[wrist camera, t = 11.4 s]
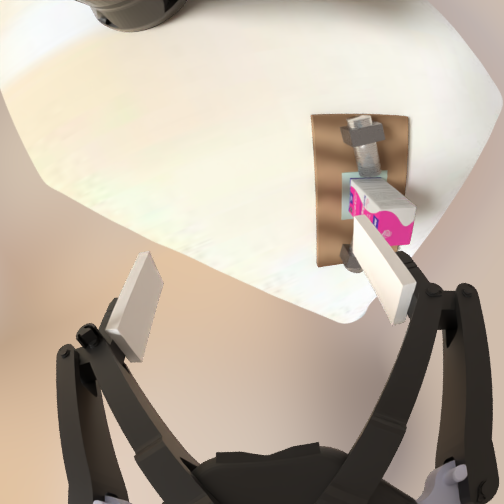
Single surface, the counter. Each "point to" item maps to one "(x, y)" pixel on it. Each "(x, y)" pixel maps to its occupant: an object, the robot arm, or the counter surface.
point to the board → (349, 176)
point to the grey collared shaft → (364, 143)
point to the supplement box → (383, 208)
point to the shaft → (350, 258)
